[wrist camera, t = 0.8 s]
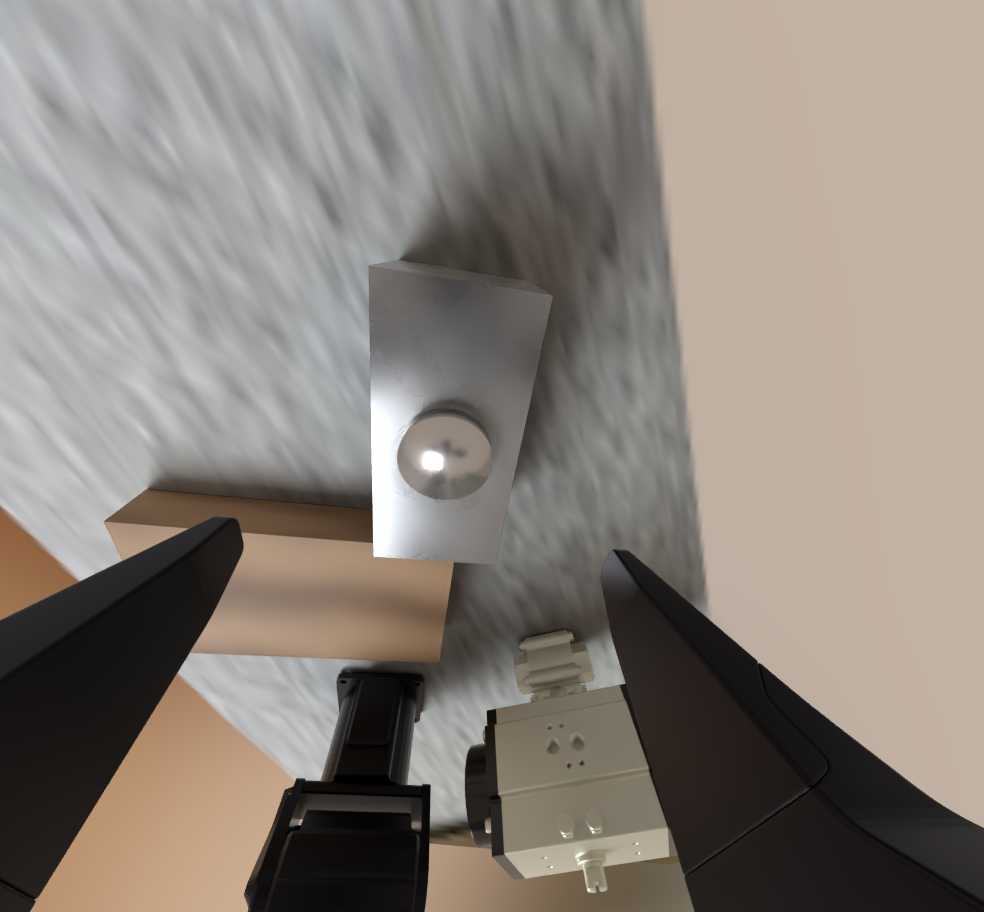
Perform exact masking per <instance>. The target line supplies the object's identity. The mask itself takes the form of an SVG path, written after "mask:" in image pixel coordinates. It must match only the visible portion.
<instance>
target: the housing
mask: <svg viewBox="0 0 984 912" xmlns="http://www.w3.org/2000/svg"><path fill="white" fill-rule="evenodd" d="M552 299H553V295H552V294H550V293H548V292H547V291H545V290H543V289H542V288H540V287H539V286H537V285H535V284H534V283H532V282H530V281H525V280H519V279H513V278H507V277H501V276H495V275H489V274H483V273H477V272H471V271H465V270H459V269H453V268H447V267H441V266H435V265H428V264H422V263H416V262H410V261H404V260H395V261H390V262H385V263H380V264H375V265H370V266H369V319H370V377H371V434H372V491H373V549H374V557H388V558H402V559H417V560H431V561H445V562H460V563H474V564H488V565H495V563H496V558H497V554H498V549H499V544H500V540H501V535H502V530H503V526H504V521H505V517H506V512H507V507H508V503H509V498H510V493H511V489H512V484H513V480H514V475H515V470H516V466H517V461H518V456H519V452H520V447H521V442H522V438H523V433H524V429H525V424H526V419H527V415H528V410H529V405H530V401H531V396H532V392H533V387H534V382H535V378H536V373H537V368H538V364H539V359H540V355H541V350H542V345H543V341H544V336H545V331H546V327H547V322H548V317H549V313H550V308H551V304H552Z"/></svg>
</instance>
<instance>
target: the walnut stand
mask: <svg viewBox="0 0 984 912" xmlns="http://www.w3.org/2000/svg"><path fill="white" fill-rule="evenodd" d="M214 516H229V517H235V518H236V519H237V520H238V521H239V525H240V529H241V533H242V537H243V542H244V550H243V553H242V556H241V558H240V560H239V562H238V564H237V566H236V568H235V570H234V572H233V574H232V576H231V578H230V580H229V583H228V585H227V587H226V589H225V591H224V593H223V595H222V597H221V599H220V601H219V603H218V605H217V607H216V609H215V611H214V613H213V615H212V617H211V619H210V620H209V622H208V624H207V625H206V627H205V629H204V630H203V632H202V634H201V635H200V637H199V638H198V640H197V642H196V643H195V645H194V647H193V648H192V650H191V651H190V653H206V654H231V655H255V656H280V657H305V658H329V659H354V660H379V661H403V662H428V663H439V659H440V652H441V645H442V639H443V632H444V626H445V619H446V612H447V606H448V599H449V592H450V586H451V579H452V572H453V566H454V562H445V561H431V560H417V559H402V558H388V557H374V549H373V510H367V509H356V508H345V507H334V506H323V505H312V504H301V503H290V502H279V501H268V500H257V499H246V498H235V497H224V496H213V495H202V494H191V493H180V492H168V491H157V490H145V491H144V492H142V493H141V494H140V495H138V496H137V497H136V498H134V499H133V500H132V501H130V502H129V503H128V504H126V505H125V506H124V507H122V508H121V509H120V510H118V511H117V512H116V513H114V514H113V515H112V516H110V517H109V518H108V519H106V520H105V521H104V523H105V526H106V528H107V530H108V532H109V534H110V536H111V538H112V540H113V542H114V544H115V546H116V548H117V551H118V553H119V555H120V557H121V559H122V561H123V560H125V559H127V558H129V557H131V556H133V555H135V554H137V553H139V552H142V551H144V550H146V549H148V548H150V547H152V546H154V545H156V544H158V543H160V542H162V541H164V540H166V539H168V538H170V537H172V536H174V535H176V534H179V533H181V532H183V531H185V530H187V529H189V528H191V527H193V526H195V525H197V524H199V523H201V522H203V521H205V520H207V519H209V518H212V517H214Z"/></svg>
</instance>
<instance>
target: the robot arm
mask: <svg viewBox="0 0 984 912" xmlns="http://www.w3.org/2000/svg"><path fill="white" fill-rule="evenodd" d="M243 550H244V542H243V537H242V533H241V529H240V525H239V521H238V520H237V519H236V518H235V517H229V516H214V517H212V518H209V519H207V520H205V521H203V522H201V523H199V524H197V525H195V526H193V527H191V528H189V529H187V530H185V531H183V532H181V533H179V534H176V535H174V536H172V537H170V538H168V539H166V540H164V541H162V542H160V543H158V544H156V545H154V546H152V547H150V548H148V549H146V550H144V551H142V552H139V553H137V554H135V555H133V556H131V557H129V558H127V559H125V560H123V561H121V562H119V563H117V564H115V565H113V566H111V567H109V568H107V569H104V570H102V571H100V572H98V573H96V574H94V575H92V576H90V577H88V578H86V579H84V580H82V581H80V582H78V583H76V584H74V585H72V586H70V587H67V588H65V589H64V590H61V591H59V592H57V593H55V594H53V595H51V596H49V597H47V598H45V599H43V600H41V601H39V602H37V603H35V604H32V605H30V606H28V607H26V608H24V609H22V610H20V611H18V612H16V613H14V614H12V615H10V616H8V617H6V618H4V619H2V620H0V912H30V911H31V909H32V908H33V906H34V904H35V902H36V900H35V899H36V898H37V897H39V895H40V894H41V892H42V891H43V889H44V887H45V886H46V884H47V883H48V881H49V879H50V878H51V876H52V874H53V872H54V871H55V869H56V868H57V866H58V865H59V863H60V862H61V860H62V858H63V857H64V855H65V853H66V852H67V850H68V849H69V847H70V845H71V844H72V842H73V840H74V839H75V837H76V836H77V834H78V832H79V831H80V829H81V828H82V826H83V824H84V823H85V821H86V819H87V818H88V816H89V815H90V813H91V811H92V810H93V808H94V807H95V805H96V803H97V802H98V800H99V798H100V797H101V795H102V794H103V792H104V790H105V789H106V787H107V785H108V784H109V782H110V781H111V779H112V777H113V776H114V774H115V772H116V771H117V769H118V768H119V766H120V764H121V763H122V761H123V760H124V758H125V756H126V755H127V753H128V752H129V750H130V748H131V747H132V745H133V743H134V742H135V740H136V739H137V737H138V735H139V734H140V732H141V731H142V729H143V727H144V726H145V724H146V723H147V721H148V719H149V718H150V716H151V714H152V713H153V711H154V710H155V708H156V706H157V705H158V703H159V701H160V700H161V698H162V697H163V695H164V693H165V692H166V690H167V689H168V687H169V685H170V684H171V682H172V680H173V679H174V677H175V676H176V674H177V672H178V671H179V669H180V668H181V666H182V664H183V663H184V661H185V659H186V658H187V656H188V655H189V653H190V651H191V650H192V648H193V647H194V645H195V643H196V642H197V640H198V638H199V637H200V635H201V634H202V632H203V630H204V629H205V627H206V625H207V624H208V622H209V620H210V619H211V617H212V615H213V613H214V611H215V609H216V607H217V605H218V603H219V601H220V599H221V597H222V595H223V593H224V591H225V589H226V587H227V585H228V583H229V580H230V578H231V576H232V574H233V572H234V570H235V568H236V566H237V564H238V562H239V560H240V558H241V556H242V553H243ZM601 584H602V589H603V594H604V600H605V605H606V610H607V615H608V620H609V625H610V630H611V635H612V639H613V643H614V646H615V650H616V653H617V656H618V659H619V663H620V666H621V669H622V673H623V676H624V679H625V683H626V686H627V689H628V692H629V696H630V699H631V702H632V706H633V709H634V712H635V716H636V719H637V722H638V725H639V729H640V732H641V735H642V739H643V742H644V745H645V749H646V752H647V755H648V759H649V762H650V765H651V768H652V772H653V775H654V778H655V782H656V785H657V788H658V792H659V795H660V798H661V801H662V805H663V808H664V811H665V815H666V818H667V821H668V825H669V828H670V831H671V835H672V838H673V841H674V844H675V848H676V851H677V854H678V858H679V861H680V864H681V868H682V870H683V873H684V875H685V882H686V885H687V888H688V892H689V895H690V898H691V902H692V905H693V908H694V911H695V912H984V828H983V827H981V826H979V825H977V824H975V823H973V822H971V821H969V820H967V819H965V818H963V817H961V816H960V815H958V814H956V813H954V812H952V811H951V810H949V809H948V808H946V807H944V806H943V805H941V804H940V803H938V802H937V801H935V800H934V799H932V798H931V797H929V796H928V795H926V794H925V793H924V792H922V791H921V790H920V789H918V788H917V787H916V786H914V785H913V784H912V783H910V782H909V781H908V780H907V779H905V778H904V777H903V776H901V775H900V774H899V773H897V772H896V771H895V770H894V769H892V768H891V767H890V766H888V765H887V764H886V763H884V762H883V761H882V760H881V759H879V758H878V757H877V756H875V755H874V754H873V753H871V752H870V751H869V750H867V749H866V748H865V747H864V746H862V745H861V744H860V743H858V742H857V741H856V740H855V739H853V738H852V737H851V736H849V735H848V734H847V733H845V732H844V731H843V730H842V729H840V728H839V727H838V726H836V725H835V724H834V723H833V722H831V721H830V720H829V719H828V718H826V717H825V716H824V715H822V714H821V713H820V712H819V711H817V710H816V709H815V708H813V707H812V706H811V705H810V704H809V703H807V702H806V701H805V700H804V699H802V698H801V697H800V696H799V695H798V694H796V693H795V692H794V691H792V690H791V689H790V688H789V687H788V686H787V685H785V684H784V683H783V682H782V681H781V680H779V679H778V678H777V677H776V676H775V675H773V674H772V673H771V672H770V671H769V670H768V669H767V668H765V667H764V666H763V665H762V664H760V663H759V664H758V662H757V660H756V659H755V658H753V657H752V656H751V655H750V654H749V653H748V652H747V651H745V650H744V649H743V648H742V647H740V646H739V645H738V644H737V643H736V642H735V641H734V640H732V639H731V638H730V637H729V636H728V635H727V634H725V633H724V632H723V631H722V630H721V629H720V628H718V627H717V626H716V625H715V624H714V623H713V622H711V621H710V620H709V619H708V618H707V617H705V616H704V615H703V614H702V613H701V612H700V611H698V610H697V609H696V608H695V607H694V606H693V605H691V604H690V603H689V602H688V601H687V600H686V599H684V598H683V597H682V596H681V595H680V594H679V593H677V592H676V591H675V590H674V589H673V588H671V587H670V586H669V585H668V584H667V583H666V582H664V581H663V580H662V579H661V578H660V577H659V576H657V575H656V574H655V573H654V572H653V571H652V570H650V569H649V568H648V567H647V566H646V565H645V564H643V563H642V562H641V561H640V560H639V559H637V558H636V557H635V556H634V555H633V554H632V553H630V552H629V551H627V550H620V549H613V550H611V551H610V552H609V554H608V557H607V559H606V561H605V564H604V566H603V568H602V571H601ZM424 680H425V679H424V677H423V676H419V675H394V674H366V673H340V674H339V675H338V678H337V692H338V703H339V717H338V721H337V724H336V728H335V731H334V735H333V738H332V742H331V746H330V749H329V753H328V756H327V760H326V763H325V767H324V771H323V774H322V778H321V781H306V780H305V779H303V778H297V779H296V781H295V784H294V786H293V787H291V788H288V789H285V791H284V794H283V797H282V800H281V803H280V806H279V808H278V811H277V814H276V817H275V820H274V822H273V825H272V828H271V830H270V833H269V835H268V837H267V840H266V842H265V844H264V846H263V848H262V851H261V853H260V856H259V858H258V860H257V862H256V865H255V867H254V869H253V871H252V874H251V876H250V879H249V881H248V883H247V886H246V889H245V893H244V896H245V899H246V902H247V905H248V908H249V909H248V912H424V911H425V904H426V895H427V885H428V870H429V833H430V788H431V785H430V784H422V786H417V785H407V781H408V773H409V764H410V756H411V747H412V739H413V730H414V723H416V722H419V720H420V713H421V705H422V697H423V689H424ZM300 819H303V822H302V824H301V825H299V821H300Z"/></svg>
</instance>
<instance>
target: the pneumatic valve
mask: <svg viewBox="0 0 984 912" xmlns="http://www.w3.org/2000/svg"><path fill="white" fill-rule="evenodd" d="M572 641H574V638H573V634H572V631H570V632H567V629H566V630H562V631H557V632H552V633H547V634H542V635H538V636H533V637H528V638H525V641H523V642H520V645H519V649H520V650H522V652H524V651H527V653H525V654H520V655H516V657H515V658H514V668H515V675H516V680H517V684H518V688H519V691H520V692H521V693H522V694H529V693H534V692H535V694H533V695H532V697H531V702H529V703H524V704H519V705H514V706H508V707H503V708H498V709H493V710H488V711H487V726H485V730H484V731H483V740H484V742H485V743H483V744H477V745H472V746H471V747H470V748H469V751H468V754H467V759H466V766H465V798H466V809H467V817H468V823H469V828H470V832H471V835H472V838H473V841H474V843H475V845H476V846H477V847H478V848H483V847H490V846H492V857H493V858H494V859H495V860H496V861H497V862H498V863H499V864H500V865H501V866H502V868H503V869H504V870H505V871H506V872H507V873H508V874H509V875H510V876H511V877H512V878H513V879H514V880H517V879H524V878H530V877H537V876H543V875H550V874H557V873H563V872H570V871H577V870H584V875H585V881H586V886H587V891H588V892H589V893H596V890H595V885H599V889H600V891H601V892H603V891H606V890H607V883H606V879H605V874H604V870H603V866H610V865H616V864H623V863H630V862H636V861H643V860H649V859H656V858H663V857H669V856H676V855H678V854H677V851H676V848H675V844H674V841H673V838H672V835H671V831H670V828H669V825H668V821H667V818H666V815H665V811H664V808H663V805H662V801H661V798H660V795H659V792H658V788H657V785H656V782H655V778H654V775H653V772H652V768H651V765H650V762H649V759H648V755H647V752H646V749H645V745H644V742H643V739H642V735H641V732H640V729H639V725H638V722H637V719H636V716H635V712H634V709H633V706H632V702H631V699H630V696H629V692H628V689H627V686H626V684H622V685H620V686H619V685H617V686H611V687H606V688H601V689H596V690H591V691H587V688H586V685H585V684H584V685H581V684H580V683H585V682H590V681H593V680H594V678H595V676H594V672H593V668H592V664H591V660H590V657H589V653H588V650H587V646H586V644H585V643H584V642H578V643H573V644H570V642H572ZM582 691H583V692H582Z"/></svg>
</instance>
